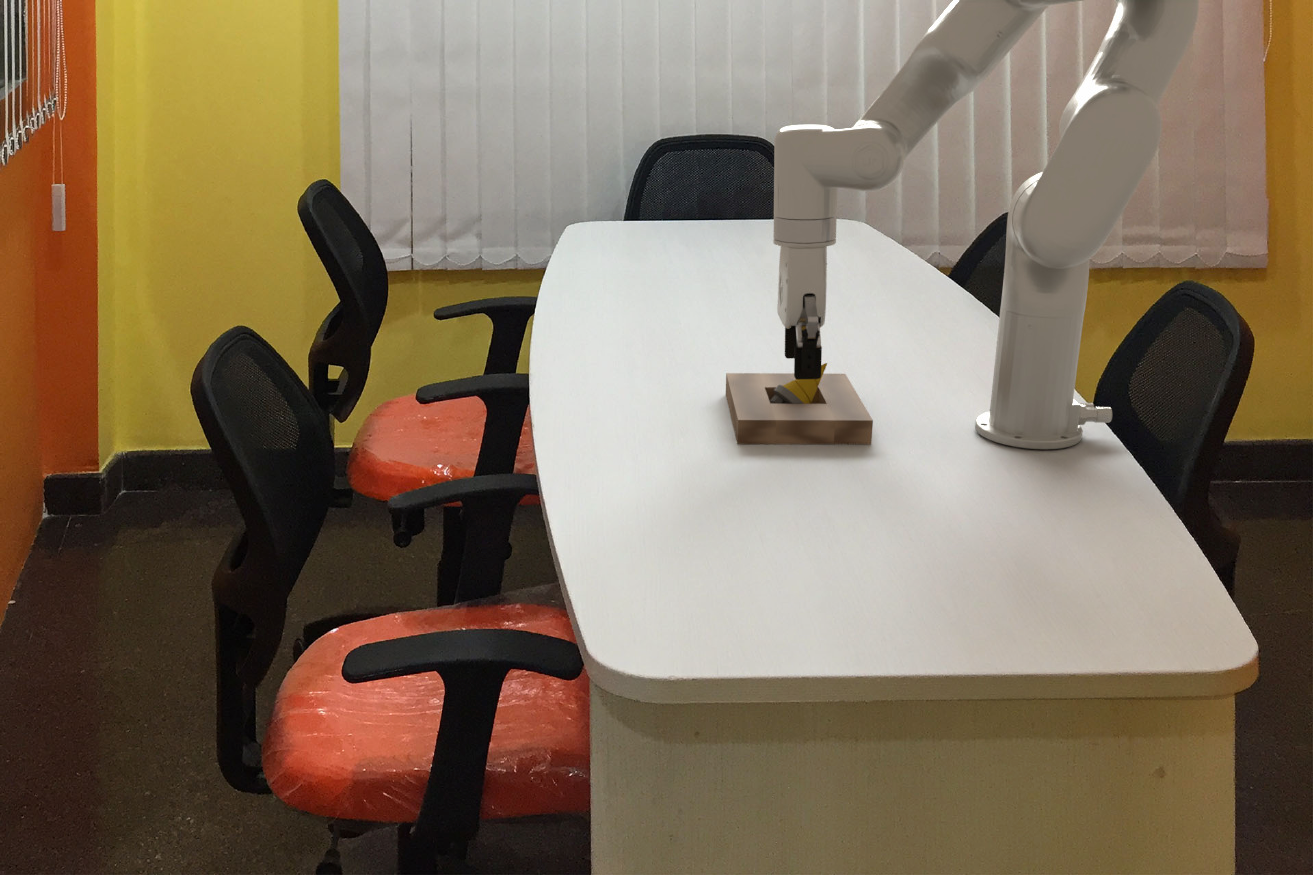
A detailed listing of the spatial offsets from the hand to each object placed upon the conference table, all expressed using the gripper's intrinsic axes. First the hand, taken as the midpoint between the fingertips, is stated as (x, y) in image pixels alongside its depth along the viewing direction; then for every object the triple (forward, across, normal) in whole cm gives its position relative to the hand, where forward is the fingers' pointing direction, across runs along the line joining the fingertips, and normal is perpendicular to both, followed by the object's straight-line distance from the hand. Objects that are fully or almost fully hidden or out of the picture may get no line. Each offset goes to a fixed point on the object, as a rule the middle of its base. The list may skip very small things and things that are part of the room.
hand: (802, 367), depth 150 cm
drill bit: (+7, -1, -1) cm, 7 cm away
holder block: (+7, 0, -1) cm, 7 cm away
